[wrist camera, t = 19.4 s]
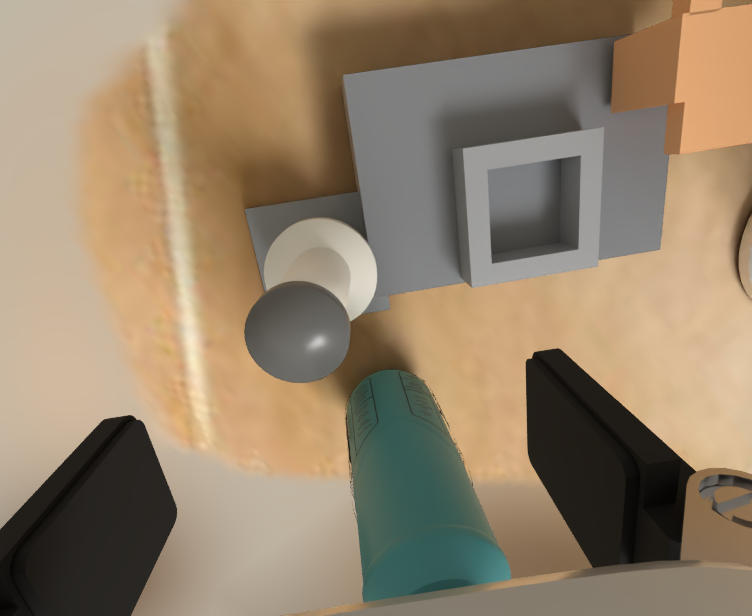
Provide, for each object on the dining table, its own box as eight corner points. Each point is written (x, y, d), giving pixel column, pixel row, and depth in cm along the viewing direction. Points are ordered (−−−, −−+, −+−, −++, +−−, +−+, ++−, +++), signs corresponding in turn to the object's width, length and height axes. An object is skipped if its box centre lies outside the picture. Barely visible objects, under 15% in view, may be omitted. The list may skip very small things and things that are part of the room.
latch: (740, -108, 20) (866, -189, 15) (709, 140, 24) (802, 136, 19) (620, -93, 20) (710, -171, 15) (608, 156, 24) (677, 155, 19)
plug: (368, 204, 26) (368, 242, 15) (382, 301, 28) (391, 397, 17) (266, 219, 26) (191, 268, 15) (288, 314, 28) (236, 418, 17)
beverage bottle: (328, 381, 31) (326, 725, 12) (408, 340, 30) (536, 631, 12) (368, 444, 33) (420, 817, 14) (444, 407, 33) (599, 741, 14)
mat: (372, 189, 27) (373, 189, 26) (389, 306, 29) (390, 309, 29) (246, 208, 26) (244, 209, 26) (274, 325, 29) (274, 329, 28)
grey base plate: (636, 43, 25) (713, 15, 20) (623, 239, 30) (685, 256, 24) (341, 85, 25) (344, 66, 19) (370, 281, 29) (379, 308, 24)
